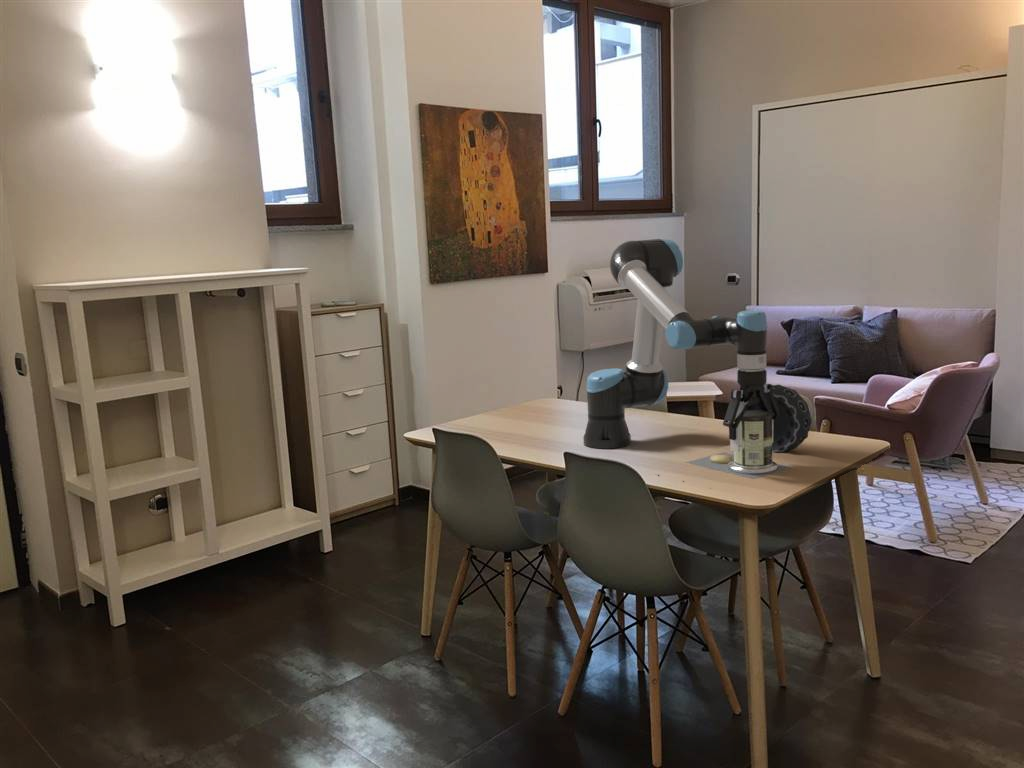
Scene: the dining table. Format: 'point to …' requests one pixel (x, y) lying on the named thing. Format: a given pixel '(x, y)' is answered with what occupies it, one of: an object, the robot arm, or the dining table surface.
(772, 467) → the metal dome
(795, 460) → the dining table surface
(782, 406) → the dark patterned bowl
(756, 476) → the fitting board
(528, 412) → the dining table surface
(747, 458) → the coffee can
